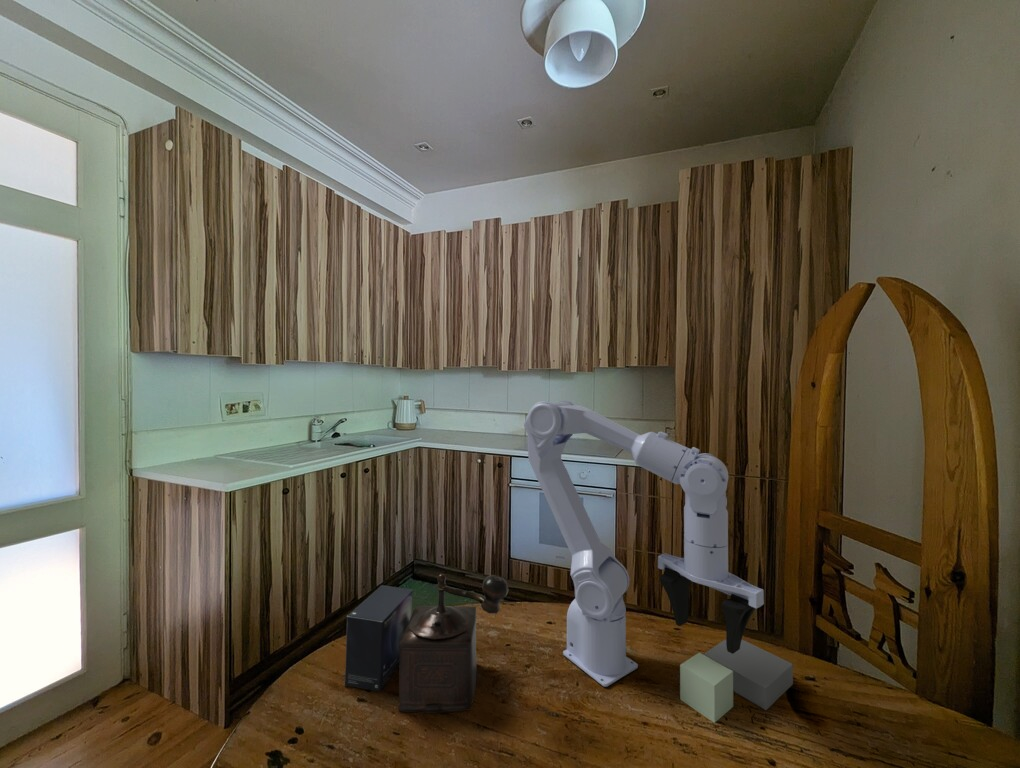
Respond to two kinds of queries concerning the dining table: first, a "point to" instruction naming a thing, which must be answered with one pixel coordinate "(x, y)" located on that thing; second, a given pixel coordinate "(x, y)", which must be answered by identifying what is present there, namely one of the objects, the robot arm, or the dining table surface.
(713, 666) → the green cube
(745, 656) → the gray plinth
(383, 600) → the small box
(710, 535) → the robot arm
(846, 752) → the dining table surface
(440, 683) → the manual coffee grinder
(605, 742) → the dining table surface
